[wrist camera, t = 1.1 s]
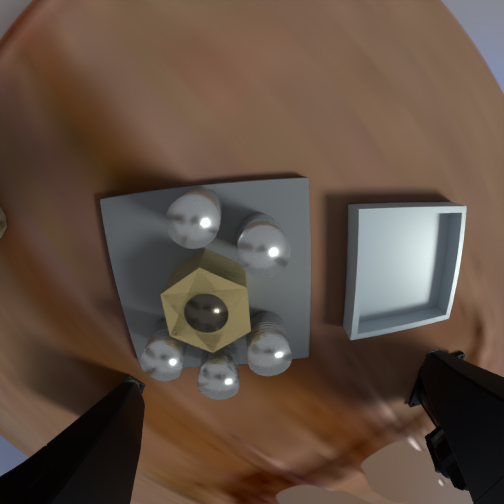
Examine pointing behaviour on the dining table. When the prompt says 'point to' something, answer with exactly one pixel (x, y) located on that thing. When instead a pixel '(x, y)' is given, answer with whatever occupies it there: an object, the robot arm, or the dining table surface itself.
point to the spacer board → (225, 243)
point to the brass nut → (207, 301)
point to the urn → (2, 222)
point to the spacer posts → (262, 323)
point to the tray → (401, 265)
